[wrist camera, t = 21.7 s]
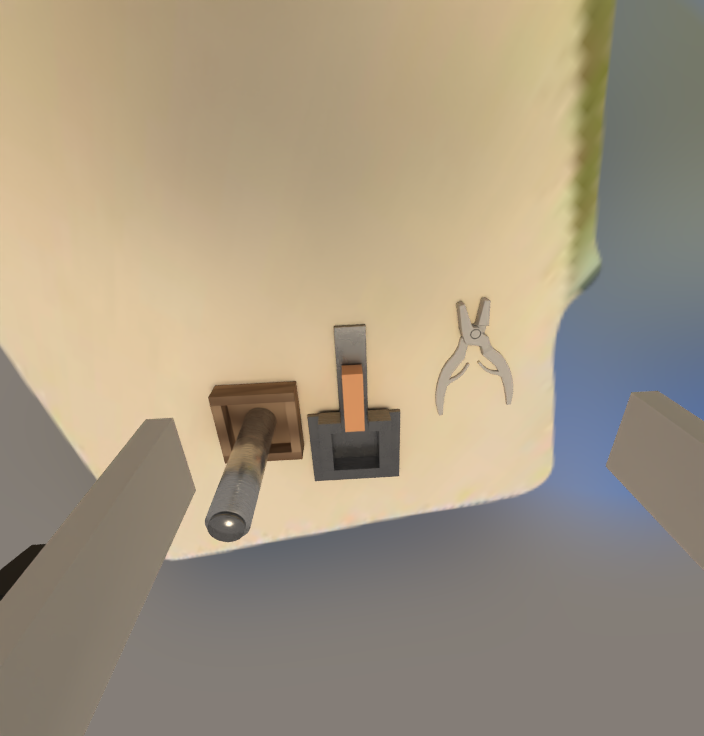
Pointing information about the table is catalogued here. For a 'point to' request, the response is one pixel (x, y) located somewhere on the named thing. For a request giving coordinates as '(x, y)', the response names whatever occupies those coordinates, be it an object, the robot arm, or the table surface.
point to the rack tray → (275, 397)
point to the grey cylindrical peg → (242, 478)
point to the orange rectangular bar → (353, 397)
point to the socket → (360, 448)
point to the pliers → (476, 336)
